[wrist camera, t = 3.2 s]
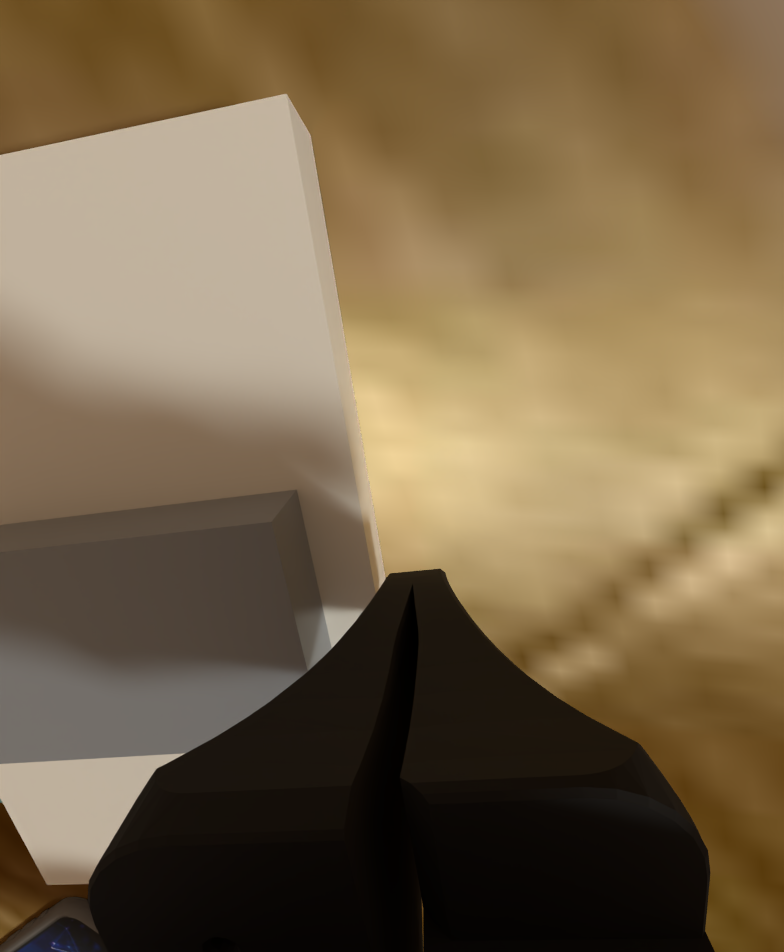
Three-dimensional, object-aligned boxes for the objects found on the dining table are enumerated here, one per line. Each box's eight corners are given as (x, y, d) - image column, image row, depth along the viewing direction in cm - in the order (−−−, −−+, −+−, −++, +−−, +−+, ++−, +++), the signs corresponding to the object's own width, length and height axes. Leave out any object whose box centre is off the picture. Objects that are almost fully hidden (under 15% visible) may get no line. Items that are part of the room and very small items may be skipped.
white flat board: (425, 814, 17) (425, 874, 15) (85, 828, 19) (47, 885, 17) (310, 135, 11) (286, 93, 9) (-197, 238, 12) (-312, 221, 10)
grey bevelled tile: (339, 684, 13) (325, 745, 11) (55, 705, 14) (-3, 764, 12) (297, 489, 11) (271, 521, 9) (-26, 527, 12) (-108, 564, 10)
